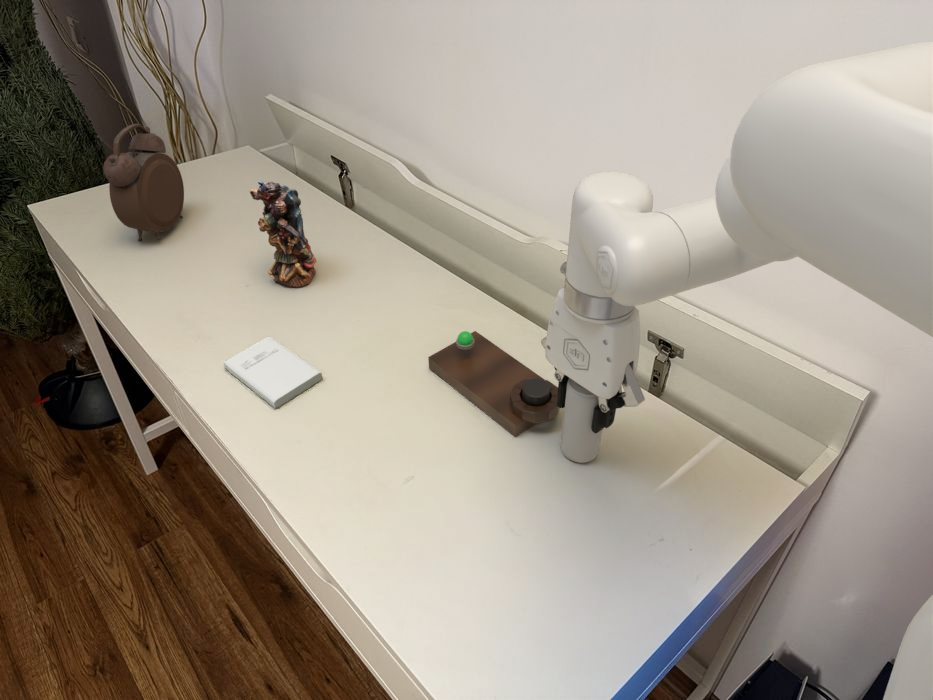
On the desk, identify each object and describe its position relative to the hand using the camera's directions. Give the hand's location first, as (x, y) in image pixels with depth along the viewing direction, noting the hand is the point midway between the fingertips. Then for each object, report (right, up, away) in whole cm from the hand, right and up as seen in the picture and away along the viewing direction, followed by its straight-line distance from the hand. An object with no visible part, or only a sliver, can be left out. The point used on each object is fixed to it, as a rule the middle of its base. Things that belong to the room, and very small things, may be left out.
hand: (584, 413), depth 84 cm
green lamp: (-14, +8, +15) cm, 22 cm away
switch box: (-10, +2, +13) cm, 16 cm away
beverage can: (0, -5, +5) cm, 7 cm away
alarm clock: (-73, +30, +48) cm, 92 cm away
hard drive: (-42, +4, +16) cm, 45 cm away
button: (-5, +2, +7) cm, 9 cm away
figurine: (-45, +20, +35) cm, 60 cm away
